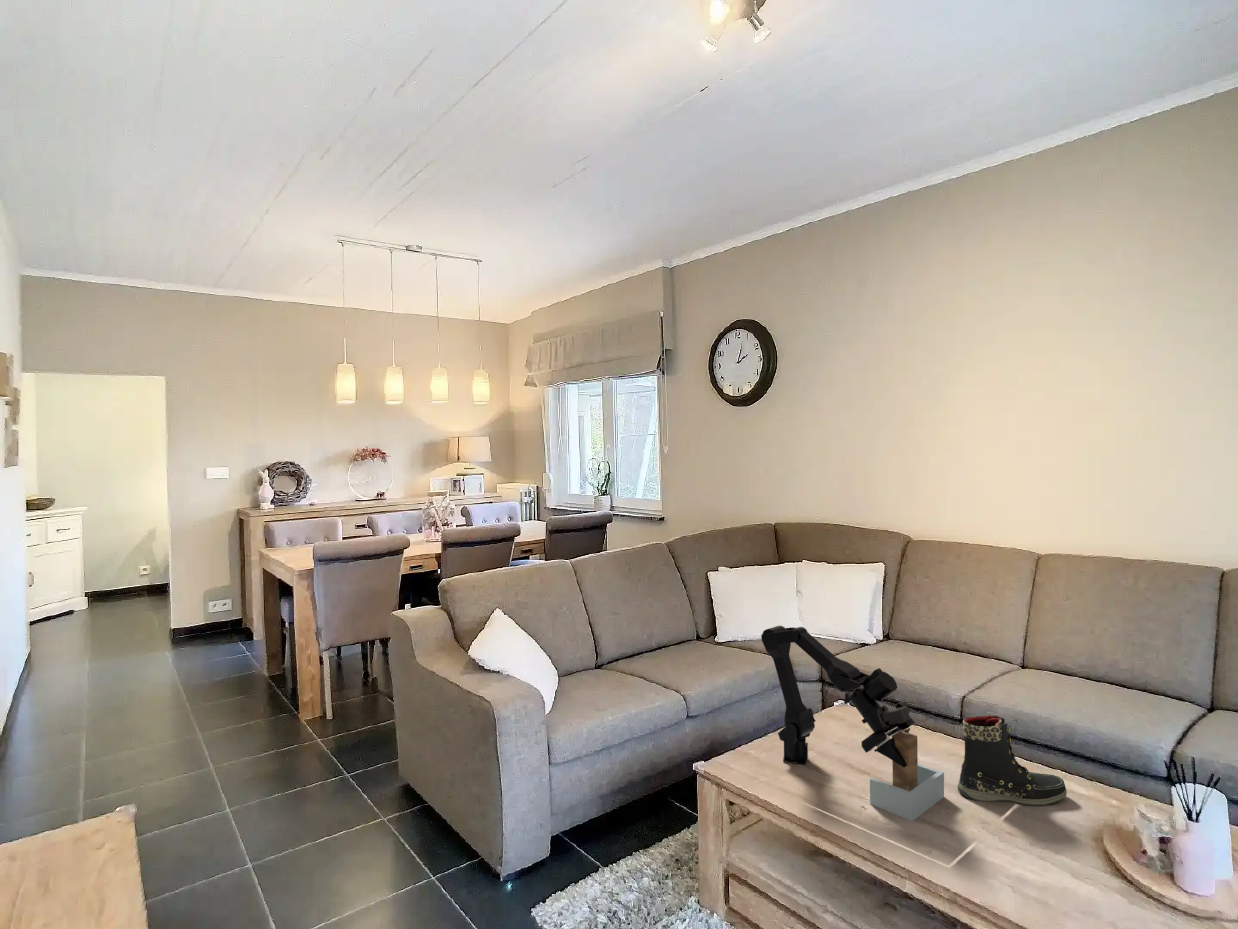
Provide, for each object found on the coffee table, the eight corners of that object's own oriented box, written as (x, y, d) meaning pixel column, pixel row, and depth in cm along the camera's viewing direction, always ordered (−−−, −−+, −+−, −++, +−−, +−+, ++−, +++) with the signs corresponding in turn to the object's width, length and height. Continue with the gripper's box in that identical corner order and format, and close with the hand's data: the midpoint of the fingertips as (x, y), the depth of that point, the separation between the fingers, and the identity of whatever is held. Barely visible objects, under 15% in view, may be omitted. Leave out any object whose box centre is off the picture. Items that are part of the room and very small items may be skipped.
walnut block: (892, 788, 181) (892, 735, 180) (901, 782, 184) (900, 730, 183) (909, 794, 177) (908, 741, 177) (917, 788, 180) (917, 736, 180)
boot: (1075, 802, 179) (1074, 724, 178) (985, 815, 173) (984, 735, 173) (1037, 780, 191) (1036, 707, 190) (951, 791, 186) (951, 716, 185)
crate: (870, 806, 179) (869, 779, 179) (903, 783, 190) (902, 758, 190) (912, 823, 170) (911, 795, 170) (944, 798, 182) (943, 772, 182)
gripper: (871, 703, 177) (914, 760, 169) (907, 686, 189) (948, 738, 181) (844, 724, 183) (884, 780, 175) (880, 706, 195) (919, 758, 187)
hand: (910, 763), depth 179 cm, fingers closed on walnut block, 4 cm apart
